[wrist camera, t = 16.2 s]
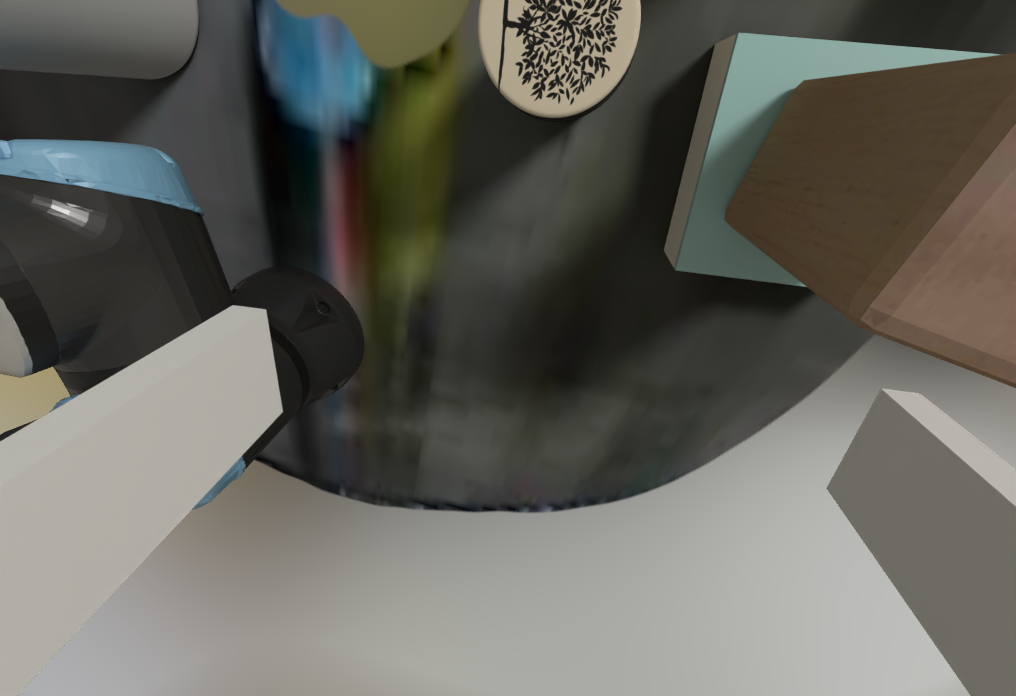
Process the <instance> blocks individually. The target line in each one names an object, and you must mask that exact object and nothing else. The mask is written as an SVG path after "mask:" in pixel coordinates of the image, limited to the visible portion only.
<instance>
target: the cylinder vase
mask: <svg viewBox="0 0 1016 696" xmlns="http://www.w3.org/2000/svg"><path fill="white" fill-rule="evenodd" d="M198 27H199V12H198V3H197V0H0V69H4V70H19V71H34V72H48V73H63V74H78V75H93V76H108V77H122V78H137V79H159V78H163V77H167V76H169V75H171V74H173V73H175V72H176V71H178V70H179V69H180V68H181V67H182V66H183V65H184V64H185V63H186V62H187V60H188V59H189V57H190V56H191V54H192V52H193V49H194V47H195V44H196V40H197V35H198Z"/></svg>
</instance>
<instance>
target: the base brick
mask: <svg viewBox="0 0 1016 696" xmlns="http://www.w3.org/2000/svg"><path fill="white" fill-rule="evenodd" d="M996 55H999V54H987V53H975V52H963V51H951V50H939V49H927V48H915V47H903V46H891V45H879V44H867V43H855V42H843V41H831V40H819V39H807V38H795V37H783V36H771V35H759V34H747V33H737V34H735V35H733V36H731V37H729V38H727V39H725V40H723V41H721V42H719V43H717V44H715V47H714V51H713V55H712V59H711V63H710V67H709V71H708V75H707V79H706V83H705V87H704V91H703V95H702V99H701V103H700V107H699V111H698V115H697V119H696V123H695V127H694V131H693V135H692V139H691V143H690V147H689V151H688V155H687V159H686V163H685V167H684V171H683V175H682V179H681V183H680V187H679V191H678V195H677V199H676V203H675V207H674V211H673V215H672V219H671V223H670V227H669V231H668V235H667V239H666V243H665V247H664V252H665V254H666V255H667V257H668V259H669V260H670V262H671V264H672V265H673V267H674V269H675V270H676V271H684V272H692V273H700V274H708V275H716V276H724V277H732V278H740V279H748V280H756V281H764V282H772V283H780V284H788V285H796V286H804V287H806V286H805V285H804V284H803V283H801V282H800V281H799V280H798V279H796V278H795V277H794V276H793V275H791V274H790V273H789V272H787V271H786V270H785V269H784V268H782V267H781V266H780V265H779V264H777V263H776V262H775V261H773V260H772V259H771V258H770V257H768V256H767V255H766V254H765V253H763V252H762V251H761V250H760V249H758V248H757V247H756V246H754V245H753V244H752V243H751V242H749V241H748V240H747V239H746V238H744V237H743V236H742V235H740V234H739V233H738V232H737V231H735V230H734V229H733V228H732V227H730V225H729V224H728V223H727V222H726V221H725V220H724V218H725V211H726V208H727V206H728V204H729V202H730V201H731V199H732V197H733V195H734V194H735V192H736V190H737V188H738V187H739V185H740V183H741V181H742V179H743V178H744V176H745V174H746V172H747V171H748V169H749V167H750V165H751V164H752V162H753V160H754V158H755V156H756V155H757V153H758V151H759V149H760V148H761V146H762V144H763V142H764V141H765V139H766V137H767V135H768V133H769V132H770V130H771V128H772V126H773V125H774V123H775V121H776V119H777V118H778V116H779V114H780V112H781V110H782V109H783V107H784V105H785V103H786V102H787V100H788V98H789V96H790V95H791V93H792V91H793V90H794V89H795V88H796V87H797V86H798V85H799V84H800V83H801V82H802V81H803V80H810V79H817V78H825V77H833V76H841V75H848V74H856V73H864V72H872V71H879V70H887V69H895V68H903V67H910V66H918V65H926V64H934V63H941V62H949V61H957V60H965V59H972V58H980V57H988V56H996Z"/></svg>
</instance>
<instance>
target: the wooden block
mask: <svg viewBox="0 0 1016 696" xmlns="http://www.w3.org/2000/svg"><path fill="white" fill-rule="evenodd" d="M724 220H725V221H726V222H727V223H728V224H729V225H730V227H732V228H733V229H734V230H735V231H737V232H738V233H739V234H740V235H742V236H743V237H744V238H746V239H747V240H748V241H749V242H751V243H752V244H753V245H754V246H756V247H757V248H758V249H760V250H761V251H762V252H763V253H765V254H766V255H767V256H768V257H770V258H771V259H772V260H773V261H775V262H776V263H777V264H779V265H780V266H781V267H782V268H784V269H785V270H786V271H787V272H789V273H790V274H791V275H793V276H794V277H795V278H796V279H798V280H799V281H800V282H801V283H803V284H804V285H805V286H806V287H808V288H809V289H810V290H812V291H813V292H814V293H815V294H817V295H818V296H819V297H820V298H822V299H823V300H824V301H826V302H827V303H828V304H829V305H831V306H832V307H833V308H834V309H836V310H837V311H838V312H839V313H841V314H842V315H843V316H845V317H846V318H847V319H848V320H850V321H851V322H852V323H853V324H855V325H856V326H857V327H859V328H861V329H864V330H866V331H869V332H871V333H874V334H877V335H879V336H882V337H884V338H887V339H890V340H892V341H895V342H897V343H900V344H903V345H905V346H908V347H911V348H913V349H916V350H918V351H921V352H924V353H926V354H929V355H931V356H934V357H937V358H939V359H942V360H944V361H947V362H950V363H952V364H955V365H957V366H960V367H963V368H966V369H968V370H970V371H973V372H976V373H978V374H981V375H983V376H986V377H989V378H991V379H994V380H997V381H999V382H1002V383H1004V384H1007V385H1009V386H1012V387H1015V388H1016V53H1011V54H1003V55H996V56H988V57H980V58H972V59H965V60H957V61H949V62H941V63H934V64H926V65H918V66H910V67H903V68H895V69H887V70H879V71H872V72H864V73H856V74H848V75H841V76H833V77H825V78H817V79H810V80H803V81H802V82H801V83H800V84H799V85H798V86H797V87H796V88H795V89H794V90H793V91H792V93H791V95H790V96H789V98H788V100H787V102H786V103H785V105H784V107H783V109H782V110H781V112H780V114H779V116H778V118H777V119H776V121H775V123H774V125H773V126H772V128H771V130H770V132H769V133H768V135H767V137H766V139H765V141H764V142H763V144H762V146H761V148H760V149H759V151H758V153H757V155H756V156H755V158H754V160H753V162H752V164H751V165H750V167H749V169H748V171H747V172H746V174H745V176H744V178H743V179H742V181H741V183H740V185H739V187H738V188H737V190H736V192H735V194H734V195H733V197H732V199H731V201H730V202H729V204H728V206H727V208H726V211H725V218H724Z"/></svg>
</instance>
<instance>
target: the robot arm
mask: <svg viewBox="0 0 1016 696" xmlns="http://www.w3.org/2000/svg"><path fill="white" fill-rule="evenodd" d="M202 216H204V213H203V210H202V209H201V208H200V207H199V206H197V204H196V202H195V200H194V198H193V195H192V193H191V191H190V189H189V186H188V184H187V182H186V180H185V177H184V175H183V173H182V171H181V169H180V167H179V166H178V164H177V163H176V162H175V161H174V160H173V159H172V158H171V157H170V156H168V155H167V154H165V153H164V152H162V151H160V150H158V149H155V148H152V147H148V146H144V145H137V144H128V143H116V142H102V141H81V140H44V139H15V140H10V141H4V140H0V374H4V375H10V376H15V377H25V376H28V375H31V374H34V373H37V372H39V371H42V370H44V369H47V368H50V367H54V369H55V370H56V372H57V373H58V375H59V377H60V378H61V380H62V381H63V383H64V385H65V387H66V388H67V390H68V392H69V394H70V397H68V398H64V399H62V400H60V401H59V402H58V403H56V405H55V406H54V408H53V409H52V410H51V411H50V412H49V413H48V414H46V415H45V416H43V417H41V418H40V419H38V420H35V421H32V422H30V423H27V424H24V425H22V426H19V427H17V428H14V429H12V430H9V431H6V432H4V433H3V434H1V435H0V696H18V695H19V694H20V693H21V691H23V689H24V688H25V687H26V686H27V685H28V684H29V683H30V682H31V681H32V680H33V679H34V678H35V677H36V676H37V674H38V673H39V672H40V671H41V670H42V669H43V668H44V667H45V666H46V665H47V663H49V661H50V660H51V659H52V658H53V657H54V656H55V655H56V654H57V653H58V652H59V651H60V650H61V649H62V648H63V647H64V646H65V644H66V643H67V642H68V641H69V640H70V639H71V638H72V637H73V636H74V635H75V634H76V633H77V632H78V630H79V629H80V628H81V627H82V626H83V625H84V624H85V623H86V622H87V621H88V620H89V619H90V618H91V617H92V616H93V615H94V613H95V612H96V611H97V610H98V609H99V608H100V607H101V606H102V605H103V604H104V603H105V602H106V600H108V598H109V597H110V596H111V595H112V594H113V593H114V592H115V591H116V590H117V589H118V588H119V587H120V586H121V584H122V583H123V582H124V581H125V580H126V579H127V578H128V577H129V576H130V575H131V574H132V573H133V572H134V571H135V570H136V568H137V567H138V566H139V565H140V564H141V563H142V562H143V561H144V560H145V559H146V558H147V557H148V556H149V555H150V554H151V552H152V551H153V550H154V549H155V548H156V547H157V546H158V545H159V544H160V543H161V541H163V540H164V539H165V537H166V536H167V535H168V534H169V533H170V532H171V531H172V530H173V529H174V528H175V527H176V525H178V524H179V522H180V521H181V520H182V519H183V518H184V517H185V516H186V515H187V514H188V513H189V512H190V511H191V510H193V509H196V508H199V507H201V506H203V505H205V504H207V503H208V502H210V501H211V500H212V499H213V498H215V497H216V496H217V495H218V494H219V493H220V492H221V491H222V490H223V489H224V488H225V487H226V486H228V485H229V484H230V483H231V482H232V481H234V480H235V479H237V478H239V477H240V476H241V475H242V473H243V472H244V470H245V469H246V468H247V467H248V465H250V463H251V462H252V461H253V460H254V459H255V458H256V457H257V456H258V455H259V454H260V452H261V451H262V450H263V449H264V448H265V447H266V446H267V445H268V444H269V442H270V441H271V440H272V439H273V438H274V437H275V436H276V435H277V434H278V432H279V431H280V430H281V429H282V428H283V427H284V426H285V425H286V424H287V422H288V421H289V420H290V419H291V418H292V417H293V416H294V415H295V413H296V412H297V411H298V410H299V409H300V408H301V407H303V406H305V405H307V404H310V403H312V402H314V401H316V400H319V399H320V398H322V397H325V396H328V395H330V394H332V393H334V392H336V391H337V390H339V389H340V388H341V387H342V386H344V385H345V384H346V383H347V381H348V380H349V379H350V378H351V377H352V376H353V374H354V373H355V372H356V371H357V369H358V367H359V366H360V363H361V361H362V357H363V352H364V337H363V332H362V328H361V325H360V322H359V320H358V317H357V315H356V313H355V312H354V310H353V308H352V307H351V305H350V304H349V303H348V301H347V300H346V299H345V298H344V296H343V295H342V294H341V293H340V292H339V291H338V290H337V289H335V288H334V287H333V286H332V285H331V284H329V283H328V282H326V281H325V280H323V279H322V278H320V277H318V276H316V275H314V274H312V273H310V272H307V271H304V270H301V269H297V268H292V267H272V268H267V269H264V270H261V271H259V272H257V273H255V274H253V275H251V276H249V277H247V278H245V279H244V280H242V281H241V282H240V283H238V284H237V285H236V286H235V287H234V288H233V289H232V290H231V291H230V288H229V286H228V283H227V280H226V278H225V275H224V272H223V270H222V267H221V265H220V262H219V259H218V257H217V254H216V251H215V249H214V246H213V244H212V241H211V238H210V236H209V233H208V230H207V228H206V225H205V223H204V220H203V217H202ZM827 490H828V491H829V493H830V494H831V495H832V497H833V498H834V500H835V501H836V502H837V504H838V505H839V507H840V508H841V510H842V511H843V513H844V514H845V515H846V517H847V518H848V520H849V521H850V523H851V524H852V526H853V527H854V528H855V530H856V531H857V533H858V534H859V536H860V537H861V539H862V540H863V541H864V543H865V544H866V546H867V547H868V549H869V550H870V551H871V553H872V554H873V556H874V557H875V559H876V560H877V561H878V563H879V564H880V566H881V567H882V569H883V570H884V572H885V573H886V575H887V576H888V577H889V579H890V580H891V582H892V583H893V585H894V586H895V587H896V589H897V590H898V592H899V593H900V595H901V596H902V598H903V599H904V600H905V602H906V603H907V605H908V606H909V608H910V609H911V610H912V612H913V613H914V615H915V616H916V618H917V619H918V620H919V622H920V623H921V625H922V626H923V628H924V629H925V631H926V632H927V634H928V635H929V636H930V638H931V639H932V641H933V642H934V644H935V645H936V646H937V648H938V649H939V651H940V652H941V654H942V655H943V656H944V658H945V659H946V661H947V662H948V664H949V665H950V667H951V668H952V669H953V671H954V672H955V673H956V675H957V677H958V678H959V680H960V681H961V682H962V684H963V685H964V687H965V688H966V690H967V691H968V692H969V694H970V695H971V696H1016V470H1015V469H1014V468H1013V467H1012V466H1010V465H1009V464H1008V463H1007V462H1005V461H1004V460H1003V459H1001V458H1000V457H999V456H998V455H997V454H995V453H994V452H993V451H991V450H990V449H989V448H988V447H986V446H985V445H984V444H983V443H981V442H980V441H979V440H978V439H976V438H975V437H974V436H972V435H971V434H970V433H969V432H968V431H966V430H965V429H964V428H963V427H961V426H960V425H959V424H958V423H956V422H955V421H954V420H952V419H951V418H950V417H949V416H947V415H946V414H945V413H944V412H942V411H941V410H940V409H939V408H937V407H936V406H935V405H934V404H932V403H931V402H930V401H928V400H927V399H926V398H925V397H924V396H922V395H921V394H920V393H912V392H904V391H896V390H889V389H881V390H880V391H879V393H878V395H877V397H876V399H875V401H874V402H873V404H872V406H871V408H870V410H869V412H868V413H867V415H866V417H865V419H864V421H863V423H862V424H861V426H860V428H859V430H858V432H857V433H856V435H855V437H854V439H853V441H852V443H851V444H850V446H849V448H848V450H847V452H846V454H845V455H844V457H843V459H842V461H841V463H840V465H839V466H838V468H837V470H836V472H835V474H834V476H833V477H832V479H831V481H830V483H829V485H828V487H827Z"/></svg>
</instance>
